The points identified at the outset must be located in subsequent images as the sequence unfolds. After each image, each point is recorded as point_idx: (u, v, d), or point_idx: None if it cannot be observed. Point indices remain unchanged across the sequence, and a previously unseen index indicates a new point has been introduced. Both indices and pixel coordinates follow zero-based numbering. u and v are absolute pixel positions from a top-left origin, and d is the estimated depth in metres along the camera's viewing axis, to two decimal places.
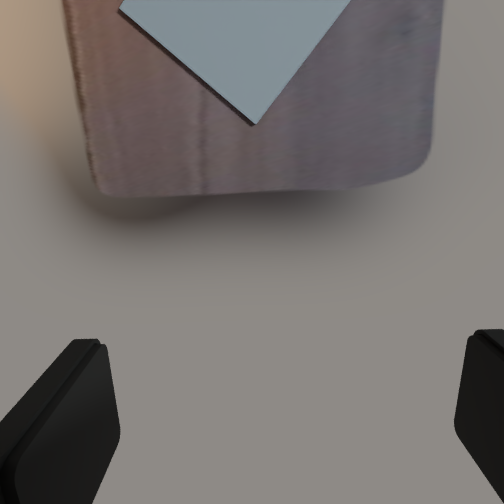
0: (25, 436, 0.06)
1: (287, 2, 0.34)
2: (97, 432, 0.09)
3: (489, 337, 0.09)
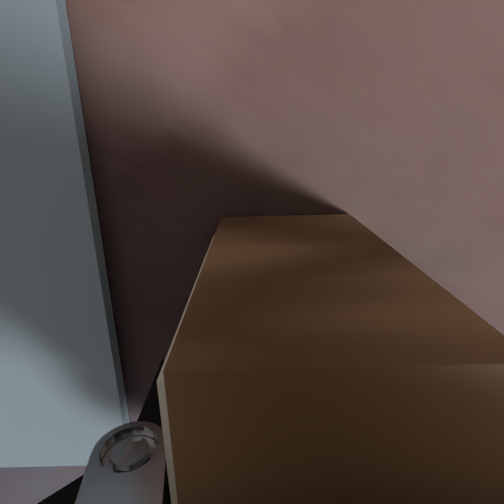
0: None
1: None
2: None
3: None
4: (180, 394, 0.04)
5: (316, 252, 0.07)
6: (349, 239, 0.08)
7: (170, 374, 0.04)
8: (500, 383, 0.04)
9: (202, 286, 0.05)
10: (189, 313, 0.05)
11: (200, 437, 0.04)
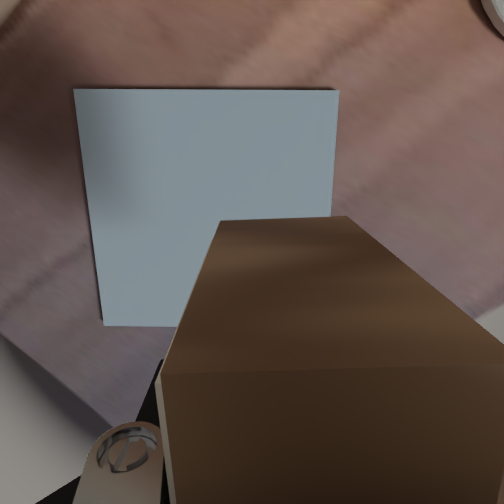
0: None
1: None
2: None
3: None
4: (177, 396, 0.04)
5: (312, 255, 0.07)
6: (346, 241, 0.08)
7: (167, 377, 0.04)
8: (490, 382, 0.04)
9: (200, 291, 0.06)
10: (186, 317, 0.05)
11: (197, 438, 0.04)
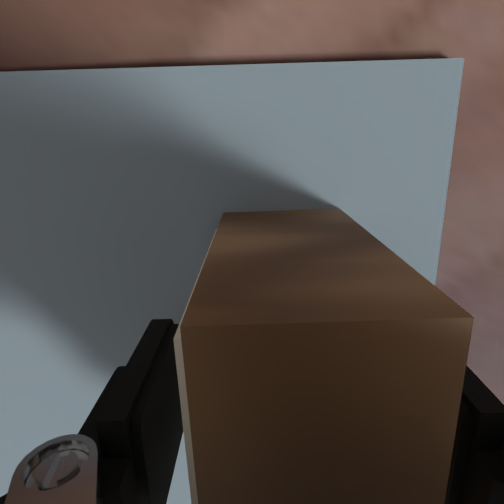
0: (140, 395, 0.07)
1: None
2: (176, 402, 0.09)
3: None
4: (193, 345, 0.04)
5: (306, 240, 0.08)
6: (337, 230, 0.09)
7: (185, 329, 0.04)
8: (445, 334, 0.04)
9: (208, 268, 0.06)
10: (198, 287, 0.06)
11: (209, 380, 0.05)
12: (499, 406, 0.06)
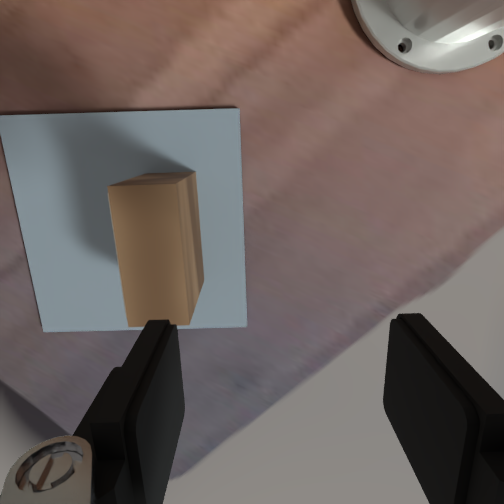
0: (136, 397, 0.07)
1: None
2: (173, 403, 0.09)
3: (406, 320, 0.10)
4: (110, 191, 0.19)
5: (162, 177, 0.22)
6: (179, 175, 0.23)
7: (108, 187, 0.19)
8: (170, 188, 0.19)
9: (122, 181, 0.21)
10: (116, 183, 0.20)
11: (115, 201, 0.19)
12: None
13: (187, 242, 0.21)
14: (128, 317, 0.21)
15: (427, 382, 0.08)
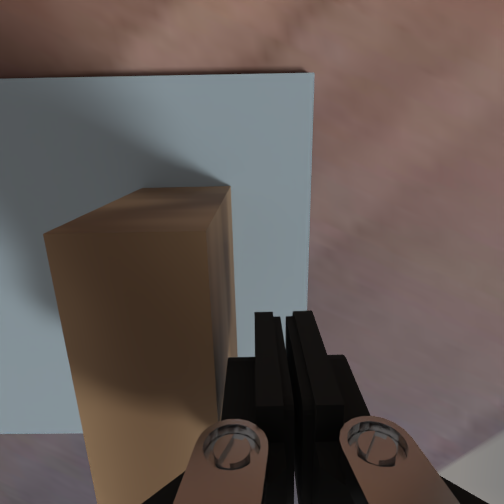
0: (283, 383, 0.07)
1: None
2: None
3: (295, 317, 0.10)
4: (51, 245, 0.08)
5: (173, 202, 0.11)
6: (205, 197, 0.12)
7: (46, 235, 0.08)
8: (192, 240, 0.08)
9: (89, 214, 0.10)
10: (72, 221, 0.09)
11: (63, 267, 0.08)
12: (337, 399, 0.07)
13: (221, 337, 0.10)
14: (98, 493, 0.10)
15: (294, 376, 0.08)
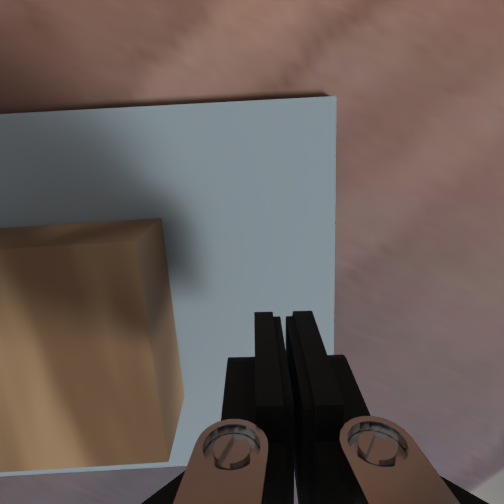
0: (282, 383, 0.07)
1: (197, 386, 0.16)
2: None
3: (295, 317, 0.10)
4: None
5: (44, 236, 0.12)
6: (56, 240, 0.11)
7: None
8: None
9: (29, 226, 0.14)
10: None
11: None
12: (337, 398, 0.07)
13: None
14: None
15: (294, 376, 0.08)
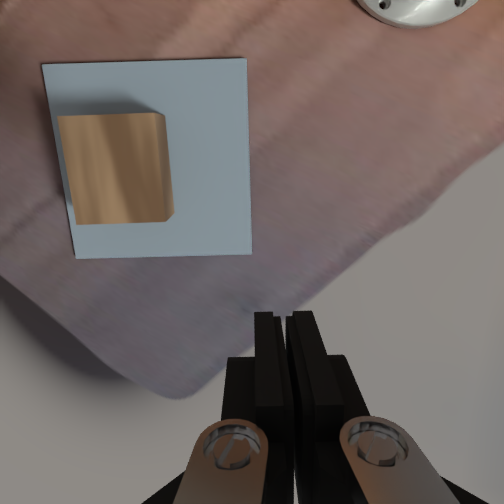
0: (283, 383, 0.07)
1: (181, 208, 0.32)
2: None
3: (295, 317, 0.10)
4: None
5: None
6: None
7: None
8: (59, 119, 0.27)
9: None
10: None
11: None
12: (337, 399, 0.07)
13: (88, 166, 0.28)
14: None
15: (294, 376, 0.08)
